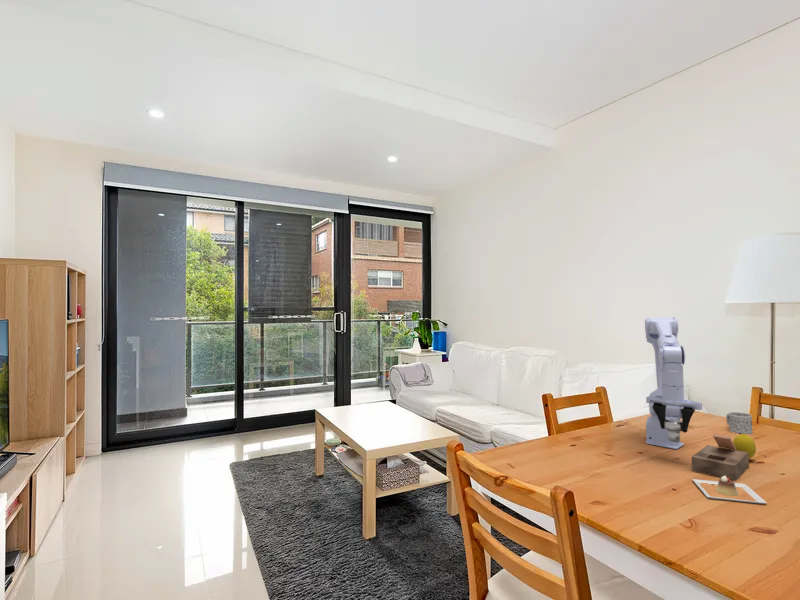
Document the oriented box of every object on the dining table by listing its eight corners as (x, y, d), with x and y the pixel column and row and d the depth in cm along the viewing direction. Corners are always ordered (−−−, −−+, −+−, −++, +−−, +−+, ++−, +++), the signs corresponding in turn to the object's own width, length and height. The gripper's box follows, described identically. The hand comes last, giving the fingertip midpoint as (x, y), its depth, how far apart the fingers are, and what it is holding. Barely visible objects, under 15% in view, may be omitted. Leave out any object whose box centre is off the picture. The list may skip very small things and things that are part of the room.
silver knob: (661, 440, 132) (661, 420, 132) (667, 437, 135) (667, 418, 136) (681, 444, 128) (680, 423, 128) (686, 440, 131) (686, 420, 132)
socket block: (692, 470, 123) (691, 456, 123) (707, 458, 134) (707, 445, 134) (735, 480, 115) (735, 465, 116) (748, 466, 126) (748, 452, 126)
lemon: (760, 463, 128) (759, 436, 128) (739, 462, 129) (738, 435, 130) (749, 457, 134) (748, 431, 134) (729, 456, 135) (728, 430, 135)
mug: (757, 434, 158) (756, 416, 158) (738, 434, 158) (738, 416, 159) (736, 427, 168) (735, 410, 168) (718, 427, 168) (718, 410, 169)
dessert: (745, 488, 112) (744, 469, 112) (767, 507, 101) (766, 487, 101) (691, 483, 116) (691, 464, 116) (707, 501, 105) (706, 481, 105)
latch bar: (719, 447, 131) (719, 444, 132) (735, 450, 128) (735, 447, 129) (712, 436, 127) (713, 433, 128) (729, 438, 124) (729, 436, 125)
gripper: (641, 384, 135) (643, 427, 135) (696, 389, 124) (698, 437, 124) (650, 381, 140) (651, 423, 139) (703, 386, 129) (705, 432, 128)
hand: (674, 430), depth 132 cm, fingers closed on silver knob, 5 cm apart
